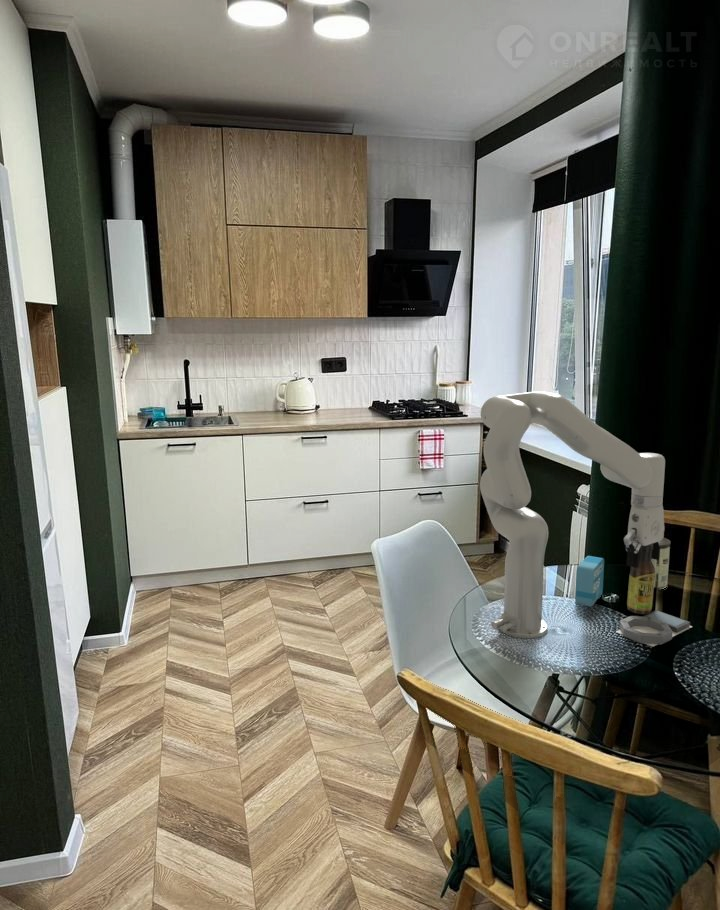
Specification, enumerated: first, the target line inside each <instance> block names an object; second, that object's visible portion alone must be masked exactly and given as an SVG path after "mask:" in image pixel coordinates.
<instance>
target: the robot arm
mask: <svg viewBox="0 0 720 910" xmlns="http://www.w3.org/2000/svg"><path fill="white" fill-rule="evenodd" d="M480 418H481V421H482V423H483V424H484V425H485V426H486V427H487V428H488V429H489V431H488V432H487V435H486V436H485V439H484V443H483V444H484V445H483V458H484V463H485V466H486V469H485V470H484V471H483V473H482V475H481V477H480V481H479V482H480V483H479V489H480V494H481V496H482V499H483V502H484V505H485V508H486V511H487V514H488V516H489V519H490V521H491V524H492V526H493V529H495V531H496V532H497V533H498V534H500V535H501V536H502V537H504V538H505V539H507V540H508V541H509V542H508V543H509V544H508V548H507V552H506V555H505V560H504V590H503V591H504V593H503V598H504V599H503V600H504V601H503V611H502V612H501V617H500V618H498V619H496V620H494V621H491V623H490V625H491V628H492V629H493V630H497V629H499V630H500V631H501V633H503V634H505V635H507V636H510V637H513V638H518V639H535V638H540V637H542V635H543V636H544V635H545V633H546V634H547V633H548V630H547V629H548V627H549V626H548V624H547V622H546V621H545V620H544V619H542V618H543V591H544V590H543V588H544V564H545V563H544V562H545V554H546V549H547V548H546V547H547V544H548V539H549V526H548V523H547V522H546V521H545V519H544V518H543V517H542V516H541V514H539V513H538V512H536V511H534V510H532V509H530V508H529V507H526V506H527V505H528V504H529V503H530V502H531V498H532V489H531V485H530V482H529V478H528V476H527V473H526V470H525V467H524V465H523V464H524V463H523V460H522V457H521V453H520V444H521V441H522V439H523V437H524V435H525V434H526V432H527V430H528V429H529V427H530V425H533V424H536V425H539V426H542V427H544V428H546V429H547V430H548V431H550V432H551V433H552V434H553V435H555V436H556V437H557V438H559V440H561V441H562V442H563V443H564V444H565V445H566V446H568V447H569V448H570V449H571V450H573V451H574V452H575V453H578V454H579V455H581V457H584V458H587V459H590V460H591V461H594V462H596V463H598V464H599V465H600V471H601V472H600V473H601V474H602V475H603V477H604V478H605V479H607V480H609V481H610V482H613V483H617V484H620V485H622V486H626V487H628V488H631V499H630V505H631V508H630V512H629V517H628V525H627V534H626V535H624V537H623V543H624V548H625V551H626V566H629V567H630V568H631V567H635V568H638V567H639V553H638V551H639V549H640V547H641V545H643V546H647V545H650V544H653V550H652V556H651V558H652V559H655V560H659V558H660V546H659V545H661V543H662V542H661V540H662V539H663V537H664V536H665V534H664V533H665V528H666V526H665V514H664V513H665V511H664V506H663V505H664V504H663V502H664V501H663V498H664V484H665V473H666V472H665V470H666V469H665V468H666V459H665V456H663V454H660V453H655V452H638V451H636V449H634V448H633V447H631V446H630V445H629V444H627V443H626V442H624V441H622V440H621V439H619V438H618V437H616V436H615V435H613V434H612V433H611V432H609V431H607V430H606V429H605V428H603V427H601V426H599V425H598V424H597V423H596V422H595V421H593V420H592V419H591V418H590V417H588V416H587V415H586V414H585V413H584V412H583V411H581V410H580V408H578V407H577V406H576V405H575V404H573V403H572V402H571V401H570V400H569V399H567V398H566V397H565V396H563V395H561V394H559V393H555V392H554V393H553V392H548V391H541V390H538V391H537V390H536V391H529V392H520V393H513V394H512V393H511V394H505V395H495V396H492V397H490V398H488V399H487V400H486V401H485V402H484V403H482V406H481V409H480ZM664 538H665V537H664ZM633 544H636V547H634V546H633Z"/></svg>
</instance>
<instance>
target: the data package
mask: <svg viewBox="0 0 720 910" xmlns="http://www.w3.org/2000/svg"><path fill="white" fill-rule="evenodd" d="M604 568H605V559H604V558H603V557H597V556H592V555H587V556H586V557H585V558H584V559H583V560H582V561H581V562H580V563H579V564H578V565H577V567H576V576H575V577H576V578H575V597H574V598H575V600H574V601H575V602H574V603H575V606H576V605H579V606H578V607H581V606H587V607H590V608H591V607H593V606H594V604H595V603H596V602H597V601H598V600H599V599H601V598H602V597H601V595H602V596H603V592H604V591H603V589H604V574H605V573H604V572H605V570H604ZM600 597H601V598H600Z"/></svg>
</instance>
